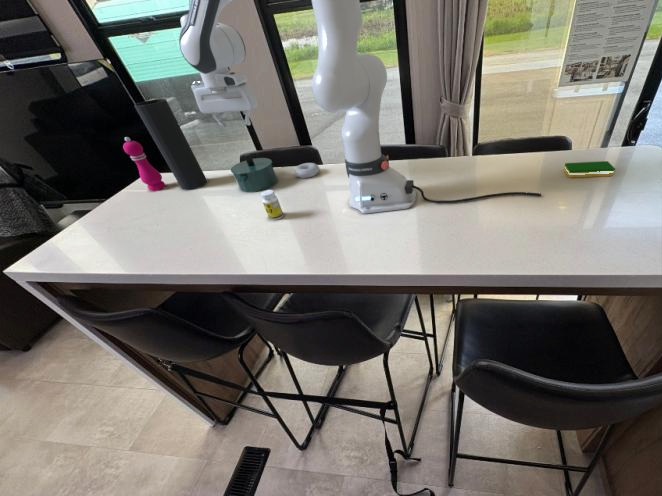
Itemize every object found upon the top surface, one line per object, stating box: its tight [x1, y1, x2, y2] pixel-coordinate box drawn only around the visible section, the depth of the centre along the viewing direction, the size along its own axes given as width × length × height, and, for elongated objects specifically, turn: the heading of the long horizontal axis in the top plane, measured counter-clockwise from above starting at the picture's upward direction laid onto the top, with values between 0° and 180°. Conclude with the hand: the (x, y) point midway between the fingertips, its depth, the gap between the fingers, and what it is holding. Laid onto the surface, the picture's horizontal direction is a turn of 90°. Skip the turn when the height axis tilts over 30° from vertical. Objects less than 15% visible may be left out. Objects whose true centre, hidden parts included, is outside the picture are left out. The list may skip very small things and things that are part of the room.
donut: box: [293, 162, 320, 179], centre depth 129 cm, size 10×4×10 cm
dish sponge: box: [563, 160, 616, 178], centre depth 108 cm, size 7×14×2 cm, turn 84°
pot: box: [232, 163, 278, 193], centre depth 125 cm, size 14×20×7 cm
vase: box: [133, 98, 208, 191], centre depth 123 cm, size 10×10×30 cm
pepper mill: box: [122, 136, 167, 192], centre depth 127 cm, size 7×7×20 cm
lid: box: [230, 152, 273, 175], centre depth 121 cm, size 15×15×5 cm
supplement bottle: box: [260, 189, 284, 221], centre depth 102 cm, size 5×5×8 cm
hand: (235, 125), depth 113 cm, fingers open, 8 cm apart
